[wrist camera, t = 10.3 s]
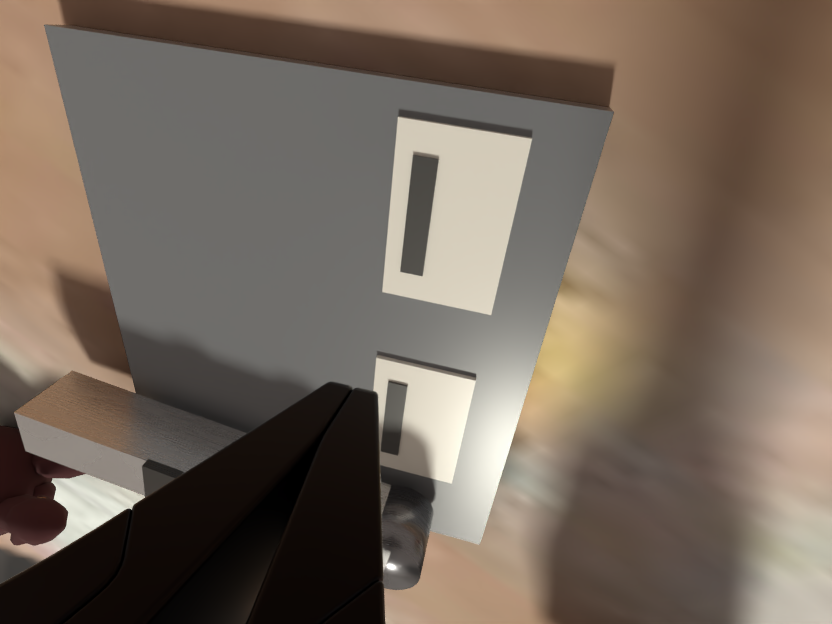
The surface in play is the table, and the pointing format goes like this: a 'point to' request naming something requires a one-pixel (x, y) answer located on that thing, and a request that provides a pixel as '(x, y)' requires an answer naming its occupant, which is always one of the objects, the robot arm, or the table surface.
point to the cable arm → (180, 455)
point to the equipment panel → (330, 241)
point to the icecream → (29, 492)
